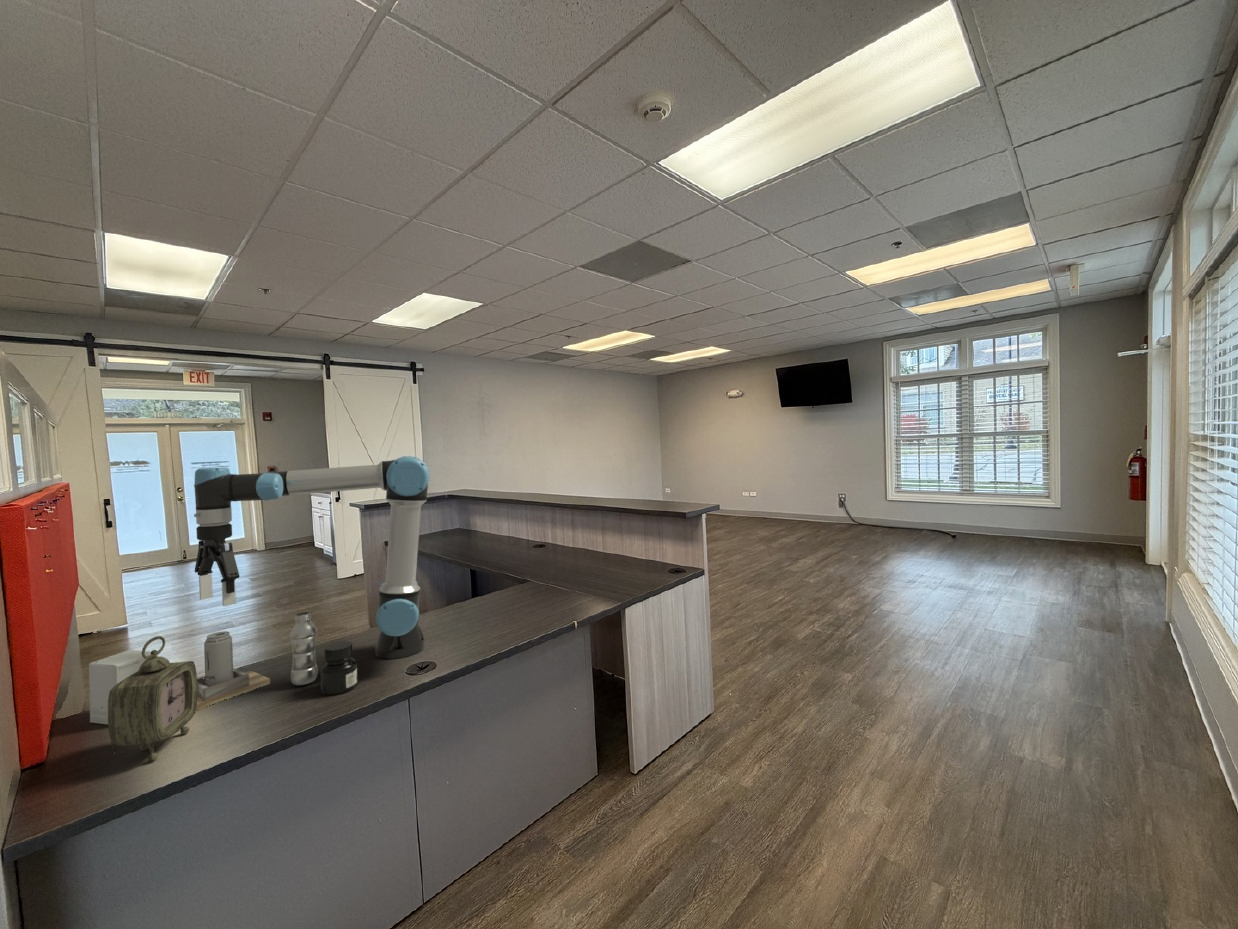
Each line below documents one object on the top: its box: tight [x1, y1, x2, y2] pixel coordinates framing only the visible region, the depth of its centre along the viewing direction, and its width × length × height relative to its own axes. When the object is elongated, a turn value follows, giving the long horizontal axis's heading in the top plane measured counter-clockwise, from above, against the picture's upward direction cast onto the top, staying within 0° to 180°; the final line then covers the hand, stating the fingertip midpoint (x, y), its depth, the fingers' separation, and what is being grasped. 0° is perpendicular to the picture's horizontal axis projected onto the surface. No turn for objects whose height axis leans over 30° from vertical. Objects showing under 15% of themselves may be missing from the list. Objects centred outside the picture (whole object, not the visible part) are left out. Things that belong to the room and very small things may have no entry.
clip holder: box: [195, 667, 271, 712], centre depth 137 cm, size 11×20×4 cm, turn 150°
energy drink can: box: [203, 630, 234, 687], centre depth 137 cm, size 6×6×15 cm
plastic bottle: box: [289, 611, 319, 686], centre depth 142 cm, size 6×7×20 cm
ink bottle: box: [320, 640, 358, 696], centre depth 139 cm, size 10×9×12 cm
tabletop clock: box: [107, 635, 198, 762], centre depth 111 cm, size 14×9×25 cm, turn 12°
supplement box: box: [88, 649, 151, 725], centre depth 126 cm, size 9×9×15 cm
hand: (217, 601), depth 136 cm, fingers open, 13 cm apart
